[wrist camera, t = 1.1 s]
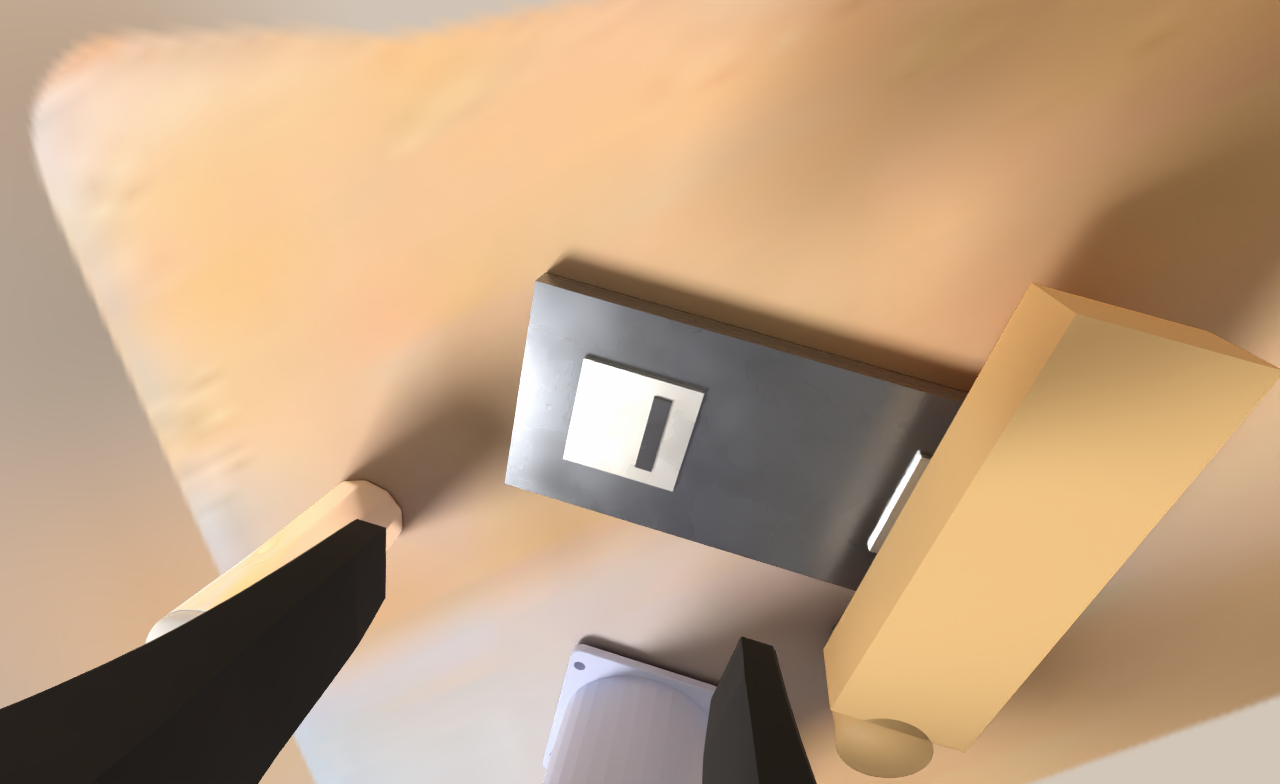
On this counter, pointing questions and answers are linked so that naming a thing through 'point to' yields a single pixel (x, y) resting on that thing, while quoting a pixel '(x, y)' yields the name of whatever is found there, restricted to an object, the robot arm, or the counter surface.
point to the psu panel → (719, 431)
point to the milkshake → (293, 545)
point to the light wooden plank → (1026, 517)
